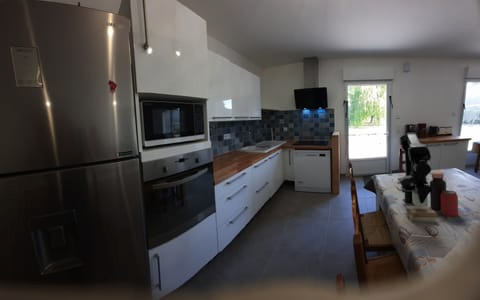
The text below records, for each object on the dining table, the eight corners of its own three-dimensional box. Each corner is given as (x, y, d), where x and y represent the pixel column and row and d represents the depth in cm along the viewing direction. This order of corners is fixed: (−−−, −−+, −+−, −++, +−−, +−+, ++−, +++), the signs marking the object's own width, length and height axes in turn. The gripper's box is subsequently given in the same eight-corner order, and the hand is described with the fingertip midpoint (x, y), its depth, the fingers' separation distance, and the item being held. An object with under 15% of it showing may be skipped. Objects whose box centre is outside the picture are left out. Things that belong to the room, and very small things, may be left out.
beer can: (450, 211, 125) (449, 189, 124) (462, 216, 118) (461, 192, 117) (437, 213, 125) (437, 191, 124) (449, 218, 118) (448, 194, 117)
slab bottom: (406, 214, 127) (406, 210, 127) (428, 214, 123) (428, 210, 123) (412, 221, 118) (411, 216, 118) (435, 222, 114) (435, 217, 114)
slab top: (405, 210, 126) (405, 206, 126) (426, 210, 124) (426, 205, 124) (413, 217, 117) (413, 212, 117) (436, 217, 115) (436, 212, 114)
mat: (404, 213, 129) (404, 212, 129) (429, 214, 125) (429, 213, 125) (411, 223, 116) (411, 223, 116) (439, 225, 112) (439, 224, 112)
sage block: (412, 202, 123) (412, 191, 123) (424, 202, 121) (423, 191, 121) (415, 205, 119) (415, 194, 118) (427, 206, 117) (427, 194, 116)
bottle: (440, 212, 126) (439, 175, 124) (427, 208, 132) (426, 173, 130) (450, 209, 127) (449, 173, 126) (436, 206, 134) (435, 171, 132)
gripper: (395, 167, 130) (396, 195, 132) (404, 175, 113) (405, 207, 114) (420, 167, 126) (421, 195, 127) (433, 174, 109) (434, 208, 110)
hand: (419, 201), depth 120 cm, fingers closed on sage block, 5 cm apart
